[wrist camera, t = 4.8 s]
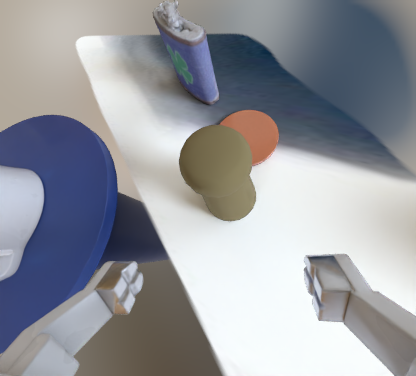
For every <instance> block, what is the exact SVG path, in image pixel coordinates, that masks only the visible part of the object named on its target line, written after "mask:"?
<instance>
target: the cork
mask: <svg viewBox="0 0 416 376" xmlns="http://www.w3.org/2000/svg"><path fill="white" fill-rule="evenodd" d="M179 165H180V171H181V174H182V176H183V178H184V180H185V182H186V184H187V185H189V186H190V187H191V188H192V189H193V190H194V191H195V192H196V193H199V194H201V195H202V196H203V198H204V200H205V203H206V205H207V207H208V209H209V211H210V212H211V213H212V214H213V215H214V216H215V217H217V218H219V219H221V220H225V221H235V220H240V219H241V218H243V217H245V216H247V215H248V213H249V212H250V211H251V210H252V209H253V206H254V204H255V202H256V192H255V188H254V185H253V183H252V180H251V178H250V176H249V174H250V172H251V168H252V153H251V149H250V146H249V144H248V142H247V141H246V140H245V138H244V137H243V136H242V134H241V133H239V132H238V131H236V130H234V129H233V128H230V127H227V126H223V125H210V126H207V127H203V128H201V129H199V130H197V131H196V132H194V133H193V134H192V135H191V136H190V137H189V138H188V139H187V140H186V142H185V144H184V146H183V147H182V150H181V153H180V158H179Z"/></svg>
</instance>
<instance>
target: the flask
mask: <svg viewBox="0 0 416 376" xmlns="http://www.w3.org/2000/svg"><path fill="white" fill-rule="evenodd" d="M177 7H178V2H177V0H174V2H173V3H170V2H169V1H164V4H162V3H160V4H159V6H158V7H157V8H155V9H154V11H153V18H154V20H155V23H156V25H157V27H158V29H159V31H160V34H161V36H162V39H163V41H164V44H165V46H166V49H167V51H168V53H169V55H170V58H171V61H172V63H173V65H174V68H175V71H176V73H177V76H178V79H179V81H180V83H181V84H182V86H183V88H185V90H186V91H188V93H190V94H192V96H194V97H195V98H197V99H198V100H200V101H202V102H203V103H206V104H208V105H209V104H210V105H212V104H215V103H216V102H215V101H217V100H219V92H218V87H217V84H216V80H215V76H214V71H213V66H212V62H211V57H210V52H209V47H208V43H207V37H206V32H205V29H204V28H203V27H201V26H200V25H197V24H195V23H192V22H190V21H188V20H186V19H184V18H183V17H181V16H180V15H179V11H178V10H176V9H177Z"/></svg>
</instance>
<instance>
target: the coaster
mask: <svg viewBox="0 0 416 376" xmlns="http://www.w3.org/2000/svg"><path fill="white" fill-rule="evenodd" d="M219 125H223V126H227V127H230V128H233V129H234V130H236V131H238V132H239V133H241V134H242V136H243V137H244V138H245V140H246V141H247V142H248V144H249V146H250V149H251V153H252V166H254V165H257V164H260V163H262V162H263V161H265V160H266V159H268V158H269V157H270V156H271V155H272V153H273V152H274V151H275V149H276V146H277V143H278V139H279V133H278V128H277V126H276V124H275V122H274V121H273V120H272V119H271V118H270V117H269V116H268V115H266V114H264V113H262V112H259V111H255V110H243V111H239V112H236V113H233V114H231V115H229V116H228V117H226V118H225V119H224V120H223V121H222V122H221V123H220V124H219Z"/></svg>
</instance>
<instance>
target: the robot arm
mask: <svg viewBox="0 0 416 376" xmlns="http://www.w3.org/2000/svg"><path fill="white" fill-rule="evenodd" d="M43 204H44V188H43V184H42V181H41V179H40V177H39V176H38V175H37V174H36V173H35V172H33V171H32V170H29V169H23V168H14V167H7V166H2V165H0V281H1V280H4V279H6V278H8V277H10V276H12V275H13V274H14V273H15V272H16V271H17V269H18V267H19V265H20V262H21V259H22V256H23V252H24V248H25V246H26V244H27V242H28V240H29V239H30V237H31V235H32V234H33V232H34V230H35V228H36V226H37V224H38V222H39V219H40V216H41V213H42V209H43ZM304 262H305V265H306V267H305V268H304V279H305V284H306V287H307V290H308V293H310V294H311V295H312V296H313V300H312V304H313V307H314V309H315V312H316V315H317V317H318V320H319V321H332V322H344V324H345V325H346V326H347V327H348V328H349V329H350V331H351V332H352V333H353V334H354V335H355V336H356V337H357V338H358V339H359V340H360V341H361V342H362V343H363V344H364V345H365V346H366V347H367V348H368V349H369V350H370V351H371V352H372V353H373V354H374V355H375V356H376V357H377V358H378V359H379V360H380V361H381V362H382V363H383V364H384V365H385V366H386V367H387V368H388V369H389V370H390V371H391V372H392V373H393V374H394V375H395V376H416V316H415V315H413V314H412V313H410V312H408V311H407V310H405V309H404V308H402V307H401V306H399V305H398V304H396V303H395V302H393V301H392V300H390V299H389V298H387V297H386V296H384V295H383V294H381V293H380V292H377V291H373V290H372V289H371V288H370V286H369V285H368V283H367V282H366V280H365V279H364V278H363V276H362V275H361V273H360V272H359V271H358V269H357V268H356V266H355V265H354V263H353V262H352V261H351V259H350V258H349V256H348V255H346V254H325V255H305V258H304ZM137 267H138V265H137V263H136V262H135V261H108V262H106V263H104V265H103V266H102V267H101V269H100V270H99V271H98V272H97V274H96V275H95V276H94V278H93V279H92V280H91V282H90V283H89V284H88V285H87V287H86V288H85V289H84V290H81V291H79V292H78V293H76V294H75V295H73V296H72V297H71V298H69V299H68V300H66V301H65V302H63V303H62V304H61V305H59V306H58V307H56V308H55V309H53V310H52V311H51V312H49V313H48V314H46V315H45V316H44V317H42V318H41V319H39V320H38V321H36V322H35V323H34V324H32V325H31V326H29V327H28V328H26V329H25V330H24V331H22V332H21V334H20V335H19V336H18V337H17V338H16V339H15V340H14V341H13V343H12V344H11V345H10V346H9V347H8V348H7V349H6V350H5V351H4V353H3V354H2V355H1V356H0V376H74V375H75V373H76V371H77V369H78V367H79V362H78V361H77V360H76V359H75V358H74V357H73V356H74V355H75V354H76V353H77V352H78V351H79V350H80V349H81V348H82V347H83V346H84V345H85V344H86V343H87V341H88V340H89V339H90V338H91V337H92V336H93V335H94V334H95V333H96V332H97V331H98V330H99V329H100V328H101V327H102V326H103V325H104V324H105V323H106V322H107V321H108V320H109V319H110V318H111V317H112V316H113V314H129V312H130V310H131V308H132V306H133V304H134V302H135V295H136V294H137V293H138V292H140V289H141V287H142V283H143V275H142V273H141V272H140V271H139V270H138V269H137Z"/></svg>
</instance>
